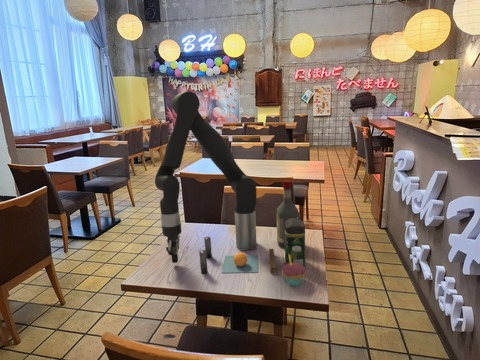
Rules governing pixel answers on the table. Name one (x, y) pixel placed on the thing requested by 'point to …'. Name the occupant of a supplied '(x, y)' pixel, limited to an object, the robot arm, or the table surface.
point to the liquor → (285, 213)
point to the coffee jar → (295, 241)
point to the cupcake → (293, 272)
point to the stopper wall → (272, 261)
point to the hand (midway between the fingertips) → (175, 261)
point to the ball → (240, 259)
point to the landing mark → (247, 268)
